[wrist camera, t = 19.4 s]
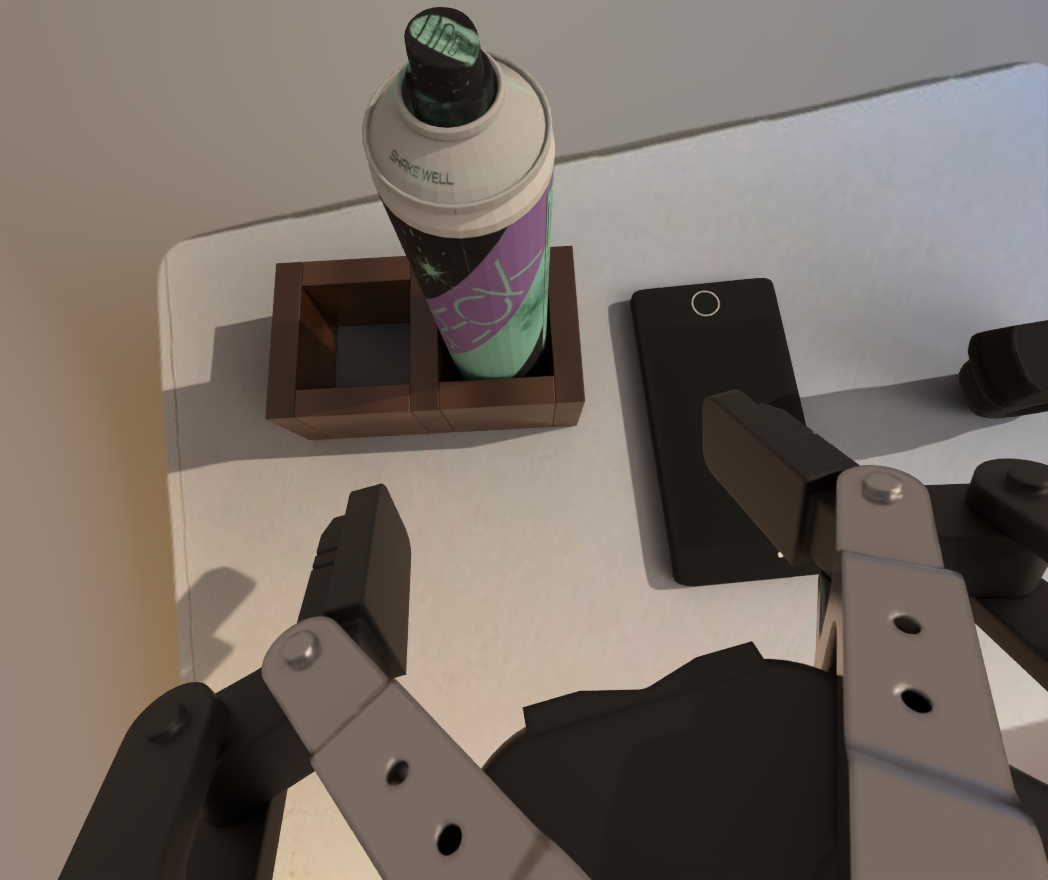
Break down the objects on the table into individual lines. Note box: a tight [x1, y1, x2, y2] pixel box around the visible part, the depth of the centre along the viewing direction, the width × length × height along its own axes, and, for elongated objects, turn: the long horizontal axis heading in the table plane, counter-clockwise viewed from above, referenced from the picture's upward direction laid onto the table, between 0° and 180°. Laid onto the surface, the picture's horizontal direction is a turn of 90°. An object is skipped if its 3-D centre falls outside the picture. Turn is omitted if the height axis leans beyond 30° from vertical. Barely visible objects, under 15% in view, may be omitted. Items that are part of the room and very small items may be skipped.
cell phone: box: [630, 278, 820, 586], centre depth 29 cm, size 9×18×1 cm, turn 5°
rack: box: [266, 246, 585, 440], centre depth 28 cm, size 16×9×5 cm, turn 93°
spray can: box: [362, 7, 555, 381], centre depth 21 cm, size 6×6×20 cm
